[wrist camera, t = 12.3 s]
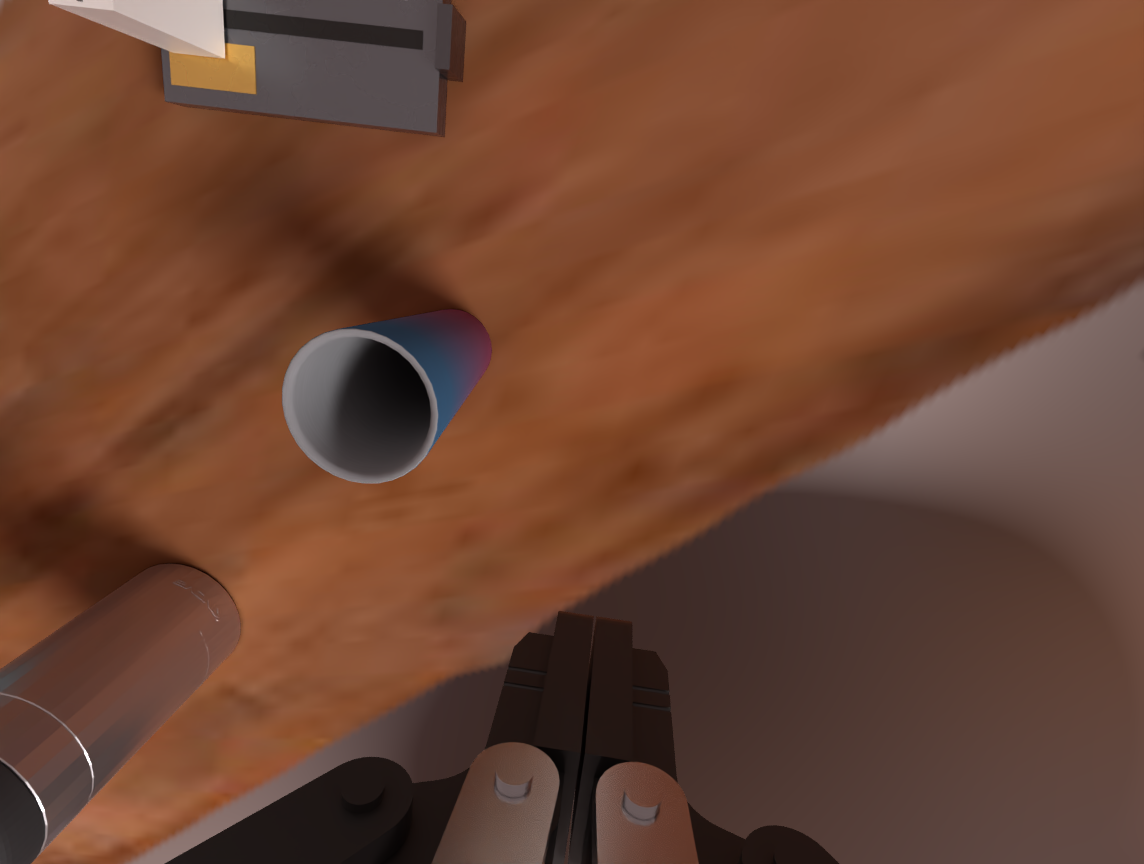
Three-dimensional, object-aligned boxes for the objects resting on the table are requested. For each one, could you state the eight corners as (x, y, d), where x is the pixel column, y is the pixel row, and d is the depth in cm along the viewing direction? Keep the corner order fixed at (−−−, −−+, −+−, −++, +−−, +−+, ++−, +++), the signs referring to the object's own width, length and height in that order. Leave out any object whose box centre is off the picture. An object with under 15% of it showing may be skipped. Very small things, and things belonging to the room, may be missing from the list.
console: (469, -42, 34) (456, -65, 32) (459, 138, 37) (446, 131, 34) (156, -74, 35) (117, -99, 33) (169, 104, 38) (134, 95, 35)
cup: (388, 371, 42) (262, 442, 28) (424, 276, 40) (308, 299, 25) (481, 415, 42) (405, 509, 28) (522, 323, 40) (462, 373, 26)
